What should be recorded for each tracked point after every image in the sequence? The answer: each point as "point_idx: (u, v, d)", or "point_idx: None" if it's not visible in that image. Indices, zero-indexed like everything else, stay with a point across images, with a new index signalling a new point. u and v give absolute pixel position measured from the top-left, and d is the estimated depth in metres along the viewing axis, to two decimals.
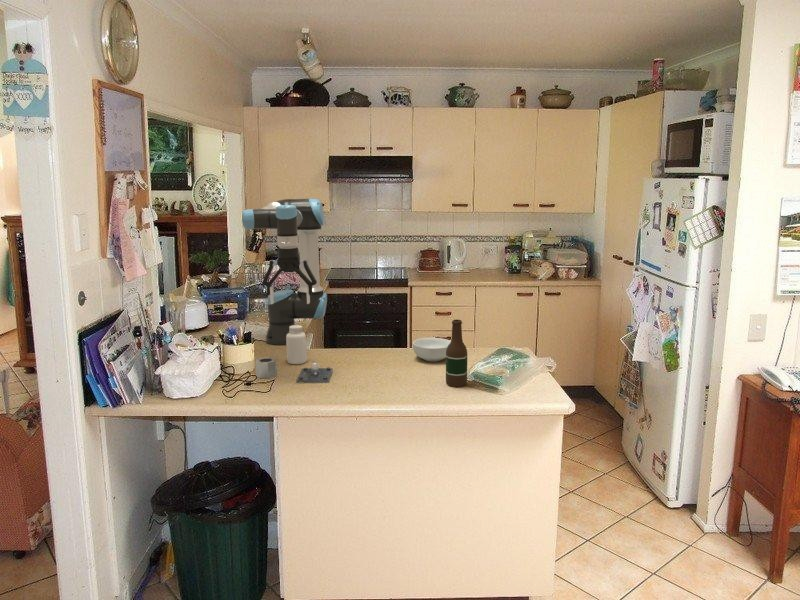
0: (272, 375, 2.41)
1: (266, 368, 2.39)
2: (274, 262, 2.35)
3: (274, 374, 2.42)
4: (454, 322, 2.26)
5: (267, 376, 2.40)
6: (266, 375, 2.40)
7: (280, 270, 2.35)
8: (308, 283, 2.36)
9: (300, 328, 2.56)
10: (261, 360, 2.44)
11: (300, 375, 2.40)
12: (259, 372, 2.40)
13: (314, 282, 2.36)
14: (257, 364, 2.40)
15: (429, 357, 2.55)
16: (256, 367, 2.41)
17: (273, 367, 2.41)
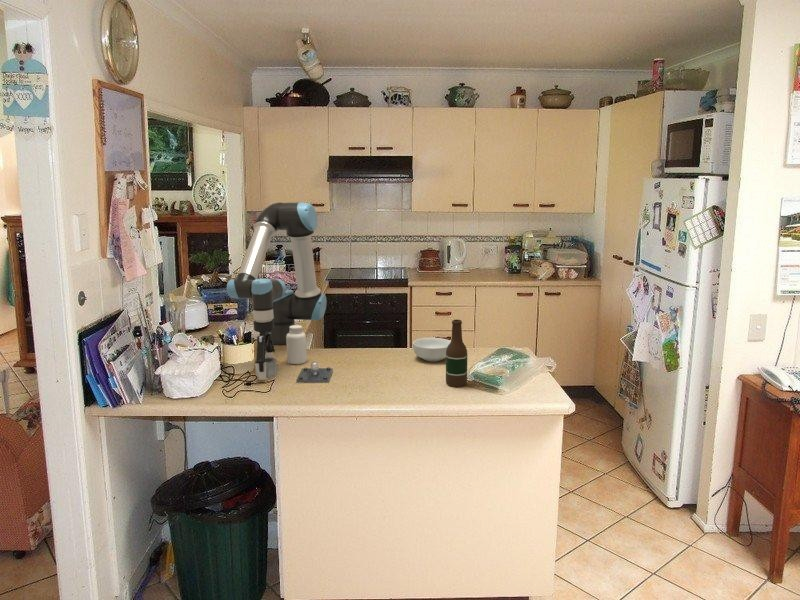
0: (272, 375, 2.41)
1: (266, 368, 2.39)
2: None
3: (274, 374, 2.42)
4: (454, 322, 2.26)
5: (267, 376, 2.40)
6: (266, 375, 2.40)
7: None
8: None
9: (300, 328, 2.56)
10: None
11: (300, 375, 2.40)
12: None
13: None
14: (257, 364, 2.40)
15: (429, 357, 2.55)
16: (256, 367, 2.41)
17: (273, 367, 2.41)
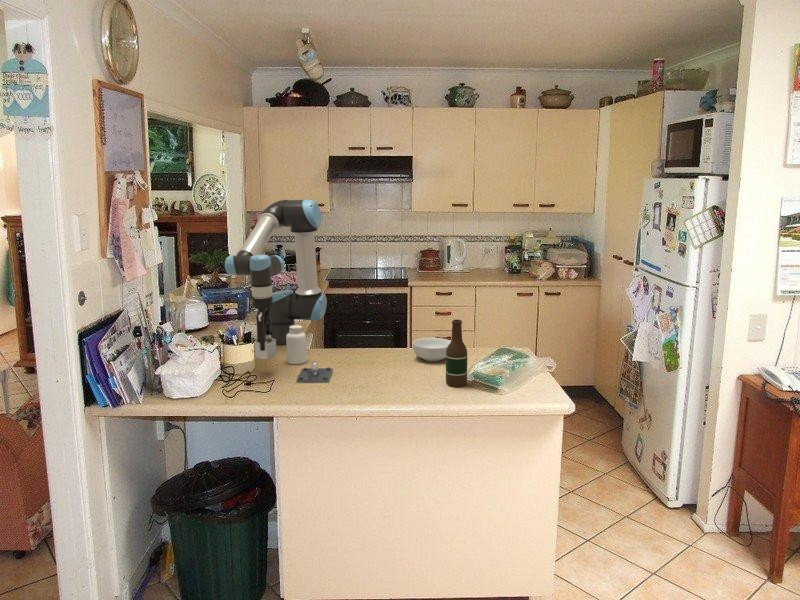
0: (272, 355, 2.40)
1: None
2: None
3: (274, 354, 2.41)
4: (454, 322, 2.26)
5: None
6: None
7: None
8: None
9: (300, 328, 2.56)
10: None
11: (300, 375, 2.40)
12: (259, 352, 2.39)
13: None
14: (256, 344, 2.39)
15: (429, 357, 2.55)
16: (255, 347, 2.40)
17: (273, 347, 2.40)
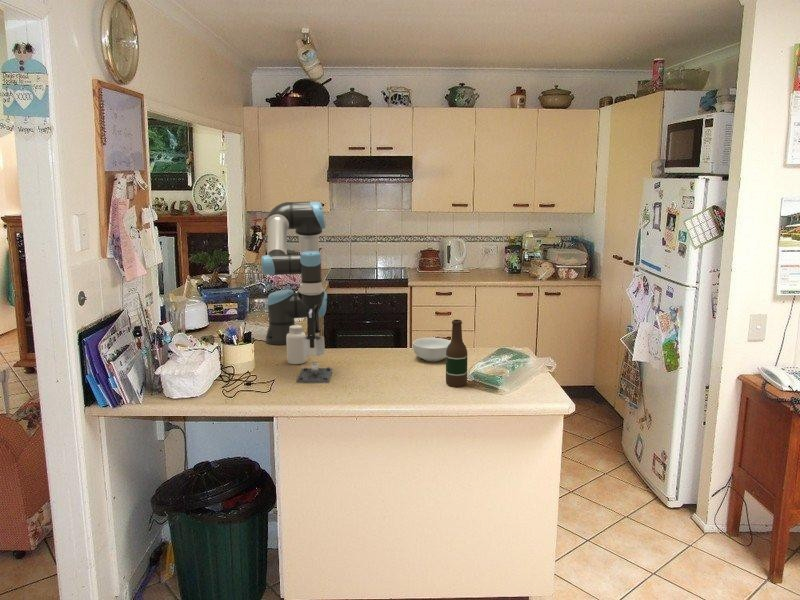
0: (320, 353, 2.37)
1: None
2: None
3: (322, 352, 2.38)
4: (454, 322, 2.26)
5: None
6: None
7: None
8: None
9: (300, 328, 2.56)
10: None
11: (300, 375, 2.40)
12: (308, 350, 2.36)
13: None
14: (305, 341, 2.36)
15: (429, 357, 2.55)
16: (304, 345, 2.37)
17: (321, 345, 2.37)
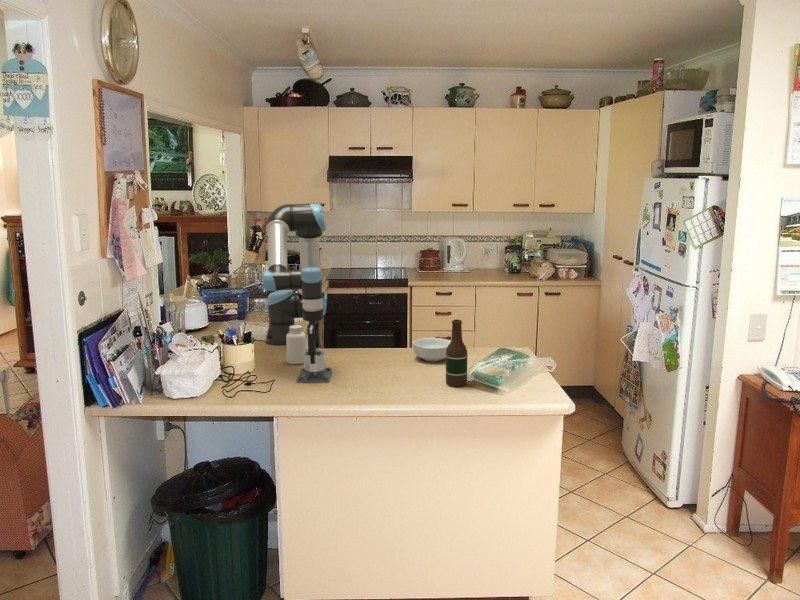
0: (321, 368, 2.38)
1: None
2: None
3: (323, 367, 2.39)
4: (454, 322, 2.26)
5: None
6: None
7: None
8: None
9: (300, 328, 2.56)
10: None
11: (300, 375, 2.40)
12: (308, 365, 2.37)
13: (308, 352, 2.33)
14: (306, 357, 2.37)
15: (429, 357, 2.55)
16: (305, 360, 2.38)
17: (322, 360, 2.38)
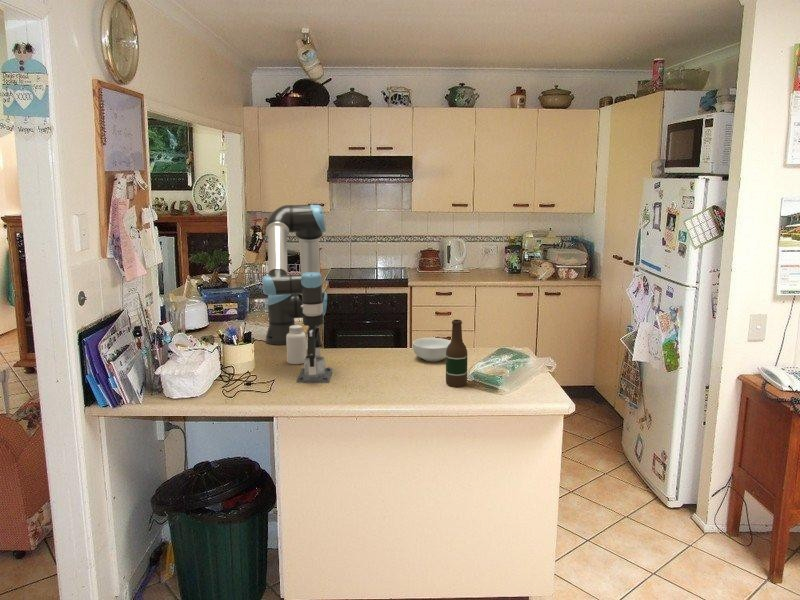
0: (321, 374, 2.39)
1: None
2: None
3: (323, 373, 2.40)
4: (454, 322, 2.26)
5: (316, 375, 2.38)
6: None
7: None
8: None
9: (300, 328, 2.56)
10: None
11: (300, 375, 2.40)
12: (308, 371, 2.38)
13: None
14: (306, 363, 2.38)
15: (429, 357, 2.55)
16: (305, 366, 2.39)
17: (322, 366, 2.39)
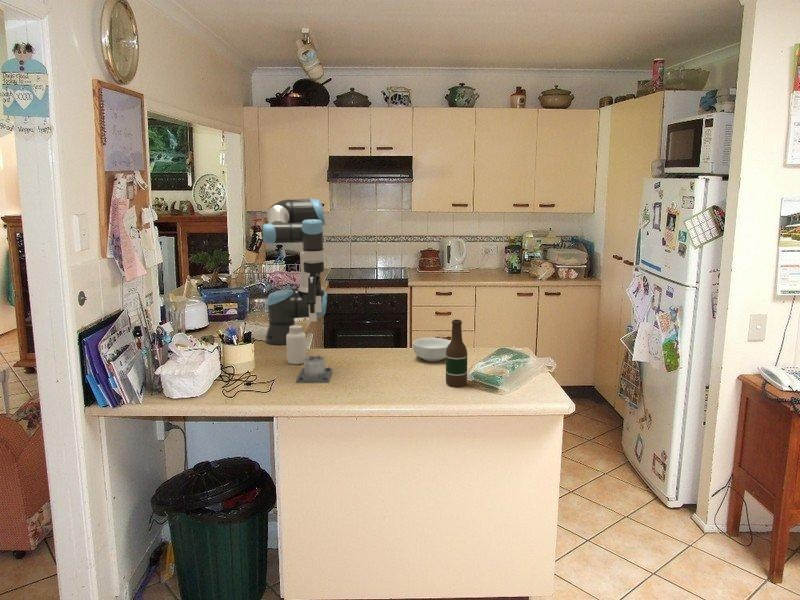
0: (321, 374, 2.39)
1: (315, 367, 2.37)
2: None
3: (323, 373, 2.40)
4: (454, 322, 2.26)
5: (316, 375, 2.38)
6: (315, 374, 2.38)
7: None
8: None
9: (300, 328, 2.56)
10: (309, 359, 2.42)
11: (300, 375, 2.40)
12: (308, 371, 2.38)
13: (307, 301, 2.30)
14: (306, 363, 2.38)
15: (429, 357, 2.55)
16: (305, 366, 2.39)
17: (322, 366, 2.39)
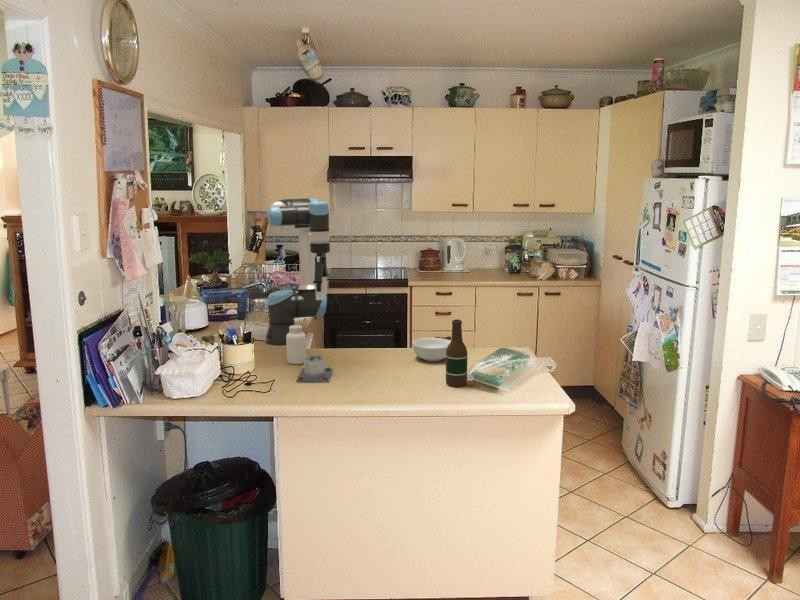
0: (321, 374, 2.39)
1: (315, 367, 2.37)
2: None
3: (323, 373, 2.40)
4: (454, 322, 2.26)
5: (316, 375, 2.38)
6: (315, 374, 2.38)
7: None
8: None
9: (300, 328, 2.56)
10: (309, 359, 2.42)
11: (300, 375, 2.40)
12: (308, 371, 2.38)
13: (314, 280, 2.37)
14: (306, 363, 2.38)
15: (429, 357, 2.55)
16: (305, 366, 2.39)
17: (322, 366, 2.39)
